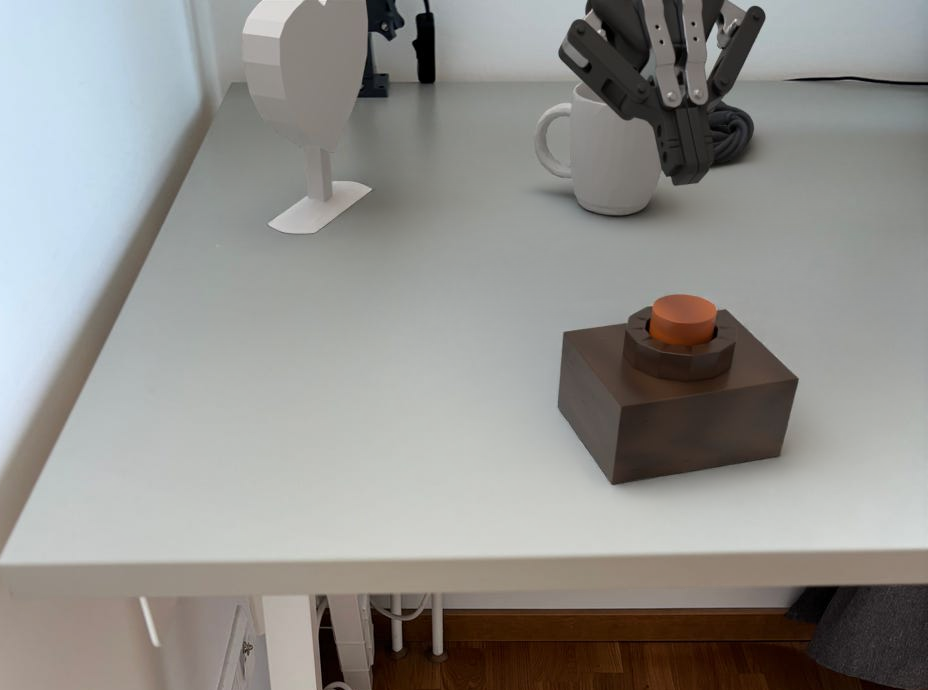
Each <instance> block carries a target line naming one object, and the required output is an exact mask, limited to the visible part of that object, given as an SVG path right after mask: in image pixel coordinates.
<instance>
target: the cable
mask: <svg viewBox="0 0 928 690" xmlns="http://www.w3.org/2000/svg"><path fill="white" fill-rule="evenodd" d="M707 116H708V121H709V126H710V128H713V127H720V126H722V127H723V126H726V127H727V132H728V133H729V134H728V133H723V132H722V131H717V130H714V131H711V130H710V131H711V137H712V140H713V145H714V150H715V157H714V162H713V163H712V164H721V163H725V162H729V161H730V160H732V159H733V158H735V157H736V156H737V155H738V154H740V153H741V152H742V151H743V149H744V148H746V146H748V144H749V143H750V142H751V140H752V138H753V136H754V132H755V123H754V120H753V119H752V117H751V116H750V114H749V113H748V112H747V111H745V110H743V109H741V108H739V107H735V106H732V105H729V104H727V103H725V102H724V101H723V100H721V101H720V102H719V104H718V106H717V107H716V108H715V109H714V111H713V112H711V113H707Z"/></svg>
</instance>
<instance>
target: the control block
mask: <svg viewBox="0 0 928 690" xmlns="http://www.w3.org/2000/svg"><path fill="white" fill-rule="evenodd" d="M652 306H653V305H649V306H645V307H643V308H641V309H639V310H637V311H636V312H634V313H632V314H631V315H629V316H628V319H627V322H623V323H617V324H610V325H609V324H608V325H601V326H595V327H588V328H587V327H586V328H580V329H573V330H566V331H563V333H562V345H561V358H560V369H559V380H558V381H559V383H558V396H557V408H558V409H559V411H560V412H561V414H562V415H563V416H564V418H565V419H566V421H567V422H568V424H569V425H570V426H571V428H572V429H573V431H574V432H575V434H576V435H577V436H578V438H579V439H580V441H581V442H582V443H583V445H584V446H585V448H586V449H587V451H588V452H589V454H590V455H591V456H592V458H593V459H594V461H595V462H596V463H597V465H598V467H599V468H600V469H601V471H602V472H603V474H604V475H605V477H606V478H607V479H608V481H609V482H610V484H611V485H617V484H622V483H623V484H624V483H627V482H635V481H639V480H645V479H651V478H657V477H663V476H669V475H674V474H682V473H687V472H692V471H697V470H698V471H699V470H704V469H710V468H715V467H723V466H727V465H735V464H740V463H744V462H745V463H746V462H752V461H757V460H763V459H768V458H774V457H779V456H781V453H782V450H783V447H784V442H785V439H786V434H787V429H788V427H789V426H788V425H789V423H790V422H789V421H790V418H791V414H792V409H793V405H794V401H795V397H796V393H797V388H798V384H799V381H800V378H799V377H798V376H797V375H796V374H794V372H793V371H792V370H791V369H789V368H788V367H787V366H786V365H785V364H784V362H783V361H781V360H780V359H779V358H778V357H777V356H776V355H775V354H774V353H773V352H772V351H771V350H770V349H768V348H767V347H766V345H765V344H763V343H762V341H760V340H759V339H758V337H756V336H755V335H754V334H753V333H752V332H751V331H750V330H749V329H748V328H747V327H746V326H744V324H742V323H741V322H740V320H738V319H737V318H736V317H735V316H734V315H733V314H732V313H731V312H730V311H729V310H727V308H724V309H717V315H716V321H715V327H714V332H713V337H712V340H711V341H710V342H708V343H707V344H700V345H693V346H682V345H673V344H667V343H665V342H662V341H660V340H657V339H655V338H652V337H651V335H650V333H649V328H650V321H651V314H652Z"/></svg>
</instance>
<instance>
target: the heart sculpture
mask: <svg viewBox="0 0 928 690" xmlns="http://www.w3.org/2000/svg"><path fill="white" fill-rule="evenodd" d="M368 31H369V18H368V9H367V1H366V0H261V1H259V3H258V4H257V5H256V6H255V7H254V8H253V9H252V11H251V12H250V14H248V17H246V20H245V23H244V26H243V29H242V32H241V43H242V44H241V45H242V47H241V49H242V64H243V69H244V75H245V78H246V84H247V88H248V92H249V93H248V94H249V96H250V97H251V100H252V101H253V104H254V106H255V108H256V110H257V111H258V113H259V116H260V117H261V119H262V120H263V122H264V123H266V124H267V125H268V126H269V128H271V129H272V130H273V131H274V132H275V133H276V134H278V135H280V136H282V137H283V138H285V139H287V140H289V141H291V142H292V143H293V144H295V145H296V146H297V147H299V148H301V149H303V150H304V162H305V171H306V172H305V175H306V186H307V195H306V196H304V197H303V198H301V199H300V200H298V201H297V202H296V203H295V204H293V205H292V206H290V207H289V208H288V209H285V210H284V211H282V213H280V214H279V215H278V216H276V217H275V218H273V219H272V220H270V221H269V222H268V223H267V225H268V226H269V227H271V228H272V229H273V230H276V231H279V232H282V233H284V234H295V235H296V234H299V235H300V234H303V235H304V234H316V233H317V232H319V231H320V230H321V229H322V228H324V227H325V226H326V225H327V224H329V223H330V222H332V221H333V220H334V219H336V218H337V217H338V216H339V215H341V214H342V213H343V212H345V211H347V209H349V208H350V207H352V206H353V205H354V204H355V203H357V202H358V201H360V199H362V198H363V197H365V196H366V195H367V194H368V193H370V192H371V191H373V188H371V187H369V186H367V185H365V184H362V183H360V182H356V181H348V180H332V179H333V178H332V166H331V154H334V153H335V151H336V149H337V146H338V144H339V142H340V139H341V137H342V134H343V133H344V130H345V128H346V126H347V123H348V122H349V120H350V117H351V115H352V113H353V109H354V107H355V104H356V101H357V99H358V96H359V93H360V90H361V88H362V83H363V77H364V73H365V72H364V71H365V67H366V62H367V56H368V37H369V36H368V35H369V32H368Z"/></svg>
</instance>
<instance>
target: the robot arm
mask: <svg viewBox="0 0 928 690" xmlns="http://www.w3.org/2000/svg"><path fill="white" fill-rule="evenodd" d="M584 15H585V16H583V18H577V19H574V21H572V23H571V24H570V26H569V28H568V31H567V32H566V34H565V36H564V38H563V40H562V42H561V44H560V46H559V48H558V51H557V55H558V58H559V59H560V60H561V62H562V63H563V64H564V65H565V66H567V68H569V69H570V70H571V72H572V73H574V74H575V76H577V77H578V78H579V79H580V81H581V82H584V83H585V84H586V85H587V86H588V87H589V88H590V89H591V90H592V91H593V92H595V93H596V94H597V95H598V96H599V97H600V98H601V99H602V100H603V101H604V102H605V103H606V104H607V105H608V106H609V107H610V108H611V109H612V110H613V111H614V112H615V113H616V114H617V115H618V116H619V117H620V118H622V119H623V120H626V121H629V120H632V119H633V118H638V119H642V120H645V121H647V122H648V123H649V124H650V126H652V128H653V131H654V135H655V140H656V145H657V150H658V152H659V159H660V164H661V169H662V170H661V172H662V173H663V174H664V176H665V177H666V178H669V177H670V180H671V183H672V185H673V186H674V187H679V186H688V185H696V184H699V183H700V182H701V181H702V180H703V178H704V177H705V176H706V175H707V174H708V173H709V171H710V166H711V165H712V164H714V163H713V162H714V157H715V150H714V145H713V140H712V137H711V127H710V126H709V121H708V116H707V113H711V112H713V111H714V109H715V108H716V107H717V106H718V104H719V102H720V101H723V99H724V98H725V96H726V95H728V93H729V92H730V91H731V90H732V89H733V88H734V86H735V83H736V81H737V79H738V77H739V75H740V73H741V71H742V69H743V67H744V65H745V64H746V61H747V59H748V57H749V54H750V53H751V50H752V49H753V46H754V44H755V42H756V40H757V39H758V36H759V34H760V32H761V30H762V28H763V25H764V24H765V22H766V19H767V18H766V17H767V16H766V15H767V14H766V12H765V10H764V9H763V8H762V7H760V6H758V5H751V6H749V8H748V9H747V10H744V9H742V8H740V6H738V5H737V4H735V3H733V2H732V1H730V0H586V4H585V8H584ZM715 24H716V26H717V33H716V40H717V43H716V47H717V48H718V49H719V50H721V51H720V53H719V55H718V57H717V59H716V61H715V63H714V65H713V68H712V69H711V71H710V73H709V75H708V77H707V74H706V63H707V59H708V50H707V42H708V40H709V38H710V36H711V33H712V31H713V28H714V27H715Z"/></svg>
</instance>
